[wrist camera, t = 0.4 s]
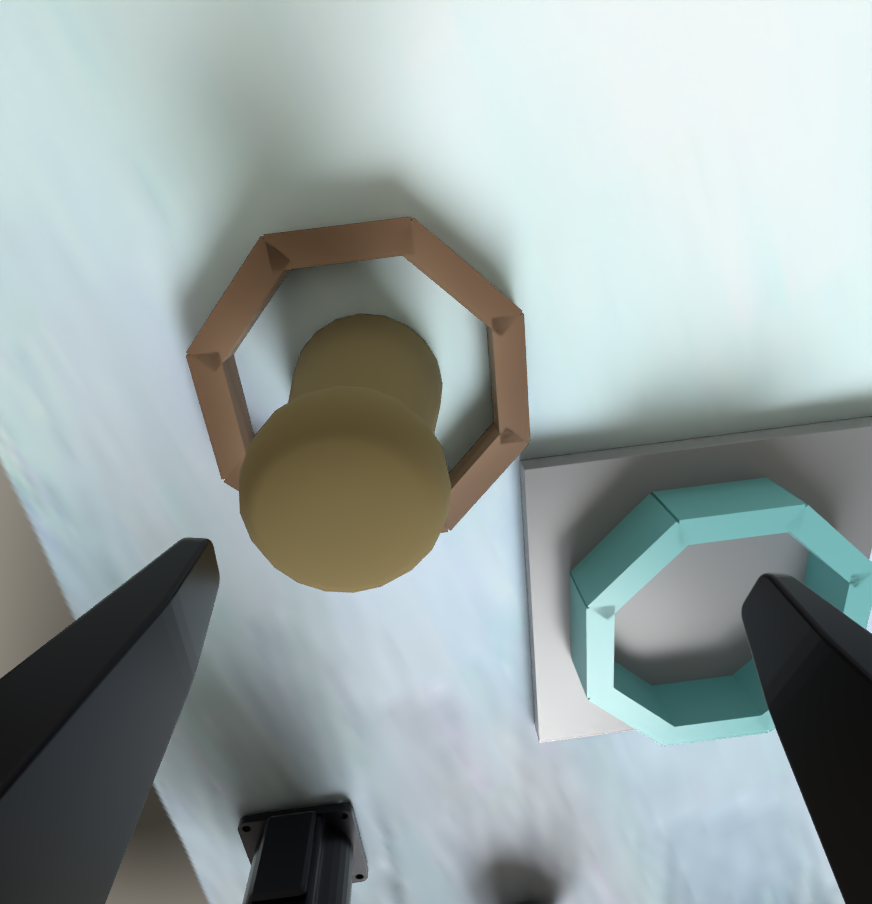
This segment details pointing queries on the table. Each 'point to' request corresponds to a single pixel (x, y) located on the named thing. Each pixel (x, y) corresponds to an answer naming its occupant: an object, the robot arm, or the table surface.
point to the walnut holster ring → (350, 244)
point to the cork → (351, 460)
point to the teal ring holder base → (683, 572)
